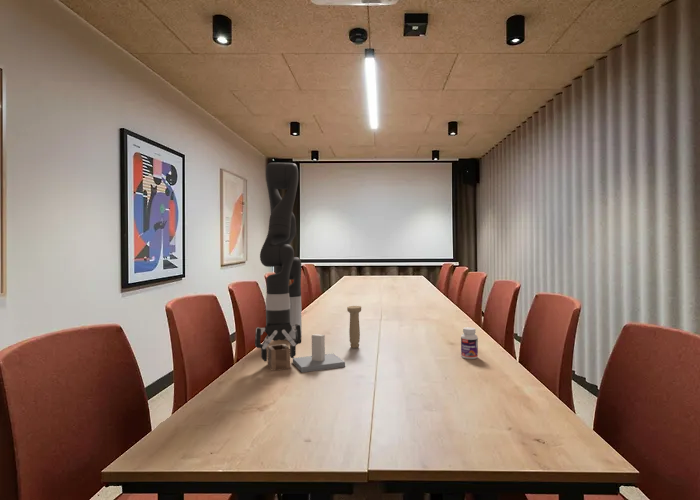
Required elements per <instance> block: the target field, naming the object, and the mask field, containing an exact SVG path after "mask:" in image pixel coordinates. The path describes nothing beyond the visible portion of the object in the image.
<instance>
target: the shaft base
mask: <svg viewBox="0 0 700 500" xmlns="http://www.w3.org/2000/svg"><path fill="white" fill-rule="evenodd" d="M325 343H326V342H325V334H320V333H313V334H311V355H309V356H301V357H300V356H299V357H294V358H292V364H293V365H294V366H295V367H296V368H297V369H298V370H299V371H300V372H301V373H306V372H314V371H321V370H322V371H323V370H328V369H336V368H339V369H340V368H344V367H346V362H345V360H343V359H342V358H340V357H339V356H338V355H336V354H335V353H326V352H325V350H326V347H325V345H326V344H325Z"/></svg>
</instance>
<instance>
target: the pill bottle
mask: <svg viewBox="0 0 700 500" xmlns="http://www.w3.org/2000/svg"><path fill="white" fill-rule="evenodd" d="M476 330H477V329H476V327H471V326H466V327H465V326H464V327H463V328H462V332H463V334H461V335H460V356H461V358H463V359H465V360H475V359H478V357H479V354H478V353H479V350H478V349H479V344H478V343H479V341H478V340H479V338H478V335H477V334H476Z"/></svg>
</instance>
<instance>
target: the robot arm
mask: <svg viewBox="0 0 700 500" xmlns="http://www.w3.org/2000/svg"><path fill="white" fill-rule="evenodd" d="M265 178H266V188H267V192H268V193H267V194H268V199H269V206H270V215H269V221H268V222H269V223H268V232H267V235H266V238H265V241H264V242H263V244H262V246H261V249H260V252H259V253H260V254H259V260H260V263H261V264H262V265H263V266H264V267H266V268H267V267H268V268H273V267H274V273H272V274H269V275H267V277H266V282H265V283H266V286H265V287H266V290H265V291H266V297H265V326H264V327H259V326H257V327H256V328H255V337H254V346H255V347H256V348H257V349H260V352H261V354H260V355H261V359H262V360H263V361H264V362H268V352H267V346H268V345H270V344H271V342H272V341H273V342H277V341H285V340H286V341H288V343H290V345H289V349H290V359H293V358H295V356H296V355H297V353H296V350H297V348H296V347H297V346H298V345H300V344H302V336H303V335H302V333H303V331H302V321H303V320H302V260H301V258H300V257H297V256H295V250H294V248H293V246H292V245H291V243H292V242H293V240H294V239H295V237H296V235H297V223H296V221H297V219H296V216H295V214H294V212H293V209H294V204H295V200H296V197H297V196H296V195H297V190H298V185H299V169H298V165H297V164H296V163H293V162H269V163H267V164H266V167H265ZM279 190H286V192H285V194H284V196H283V197H282V196H281V195H280V191H279ZM290 280H291V281H292V280H293V282H292V283H291V284H290ZM264 332H265V333H266V334H267V335H266V336H265V338H264V340H263V342H262V343H261V338H262V337H261V336H262V335H263V333H264Z"/></svg>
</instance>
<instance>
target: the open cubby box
mask: <svg viewBox="0 0 700 500" xmlns="http://www.w3.org/2000/svg"><path fill="white" fill-rule="evenodd" d="M266 349H267V366H268V367H269V368H270V370H271V371H280V370H286V369H287V370H288V369H289V370H290V369H291V357H290V347H289V346H288V345H287V344H286V343H281V344H280V343H279V344H271V345H270V344H268V346H267V347H266Z"/></svg>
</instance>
